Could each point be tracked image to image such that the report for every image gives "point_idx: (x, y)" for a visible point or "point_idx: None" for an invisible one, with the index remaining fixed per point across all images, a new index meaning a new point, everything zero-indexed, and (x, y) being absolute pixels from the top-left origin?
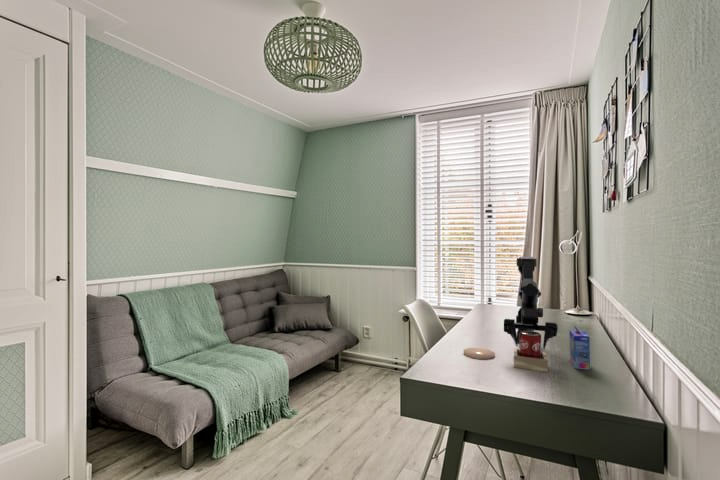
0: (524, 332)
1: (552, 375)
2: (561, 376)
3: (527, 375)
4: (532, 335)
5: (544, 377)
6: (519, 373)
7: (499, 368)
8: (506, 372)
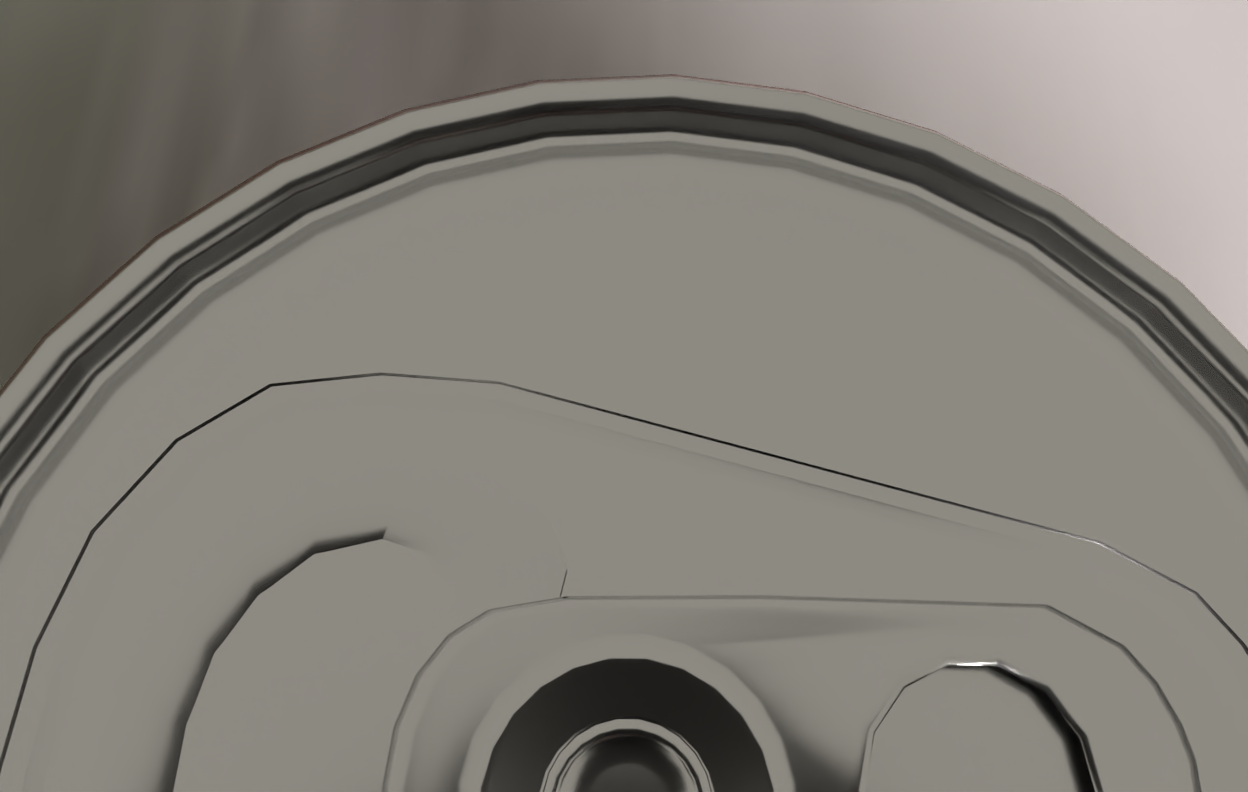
0: (1161, 715)
1: (200, 196)
2: (29, 208)
3: (678, 7)
4: (516, 98)
5: (375, 24)
6: (825, 56)
7: (1232, 190)
8: (1060, 15)
